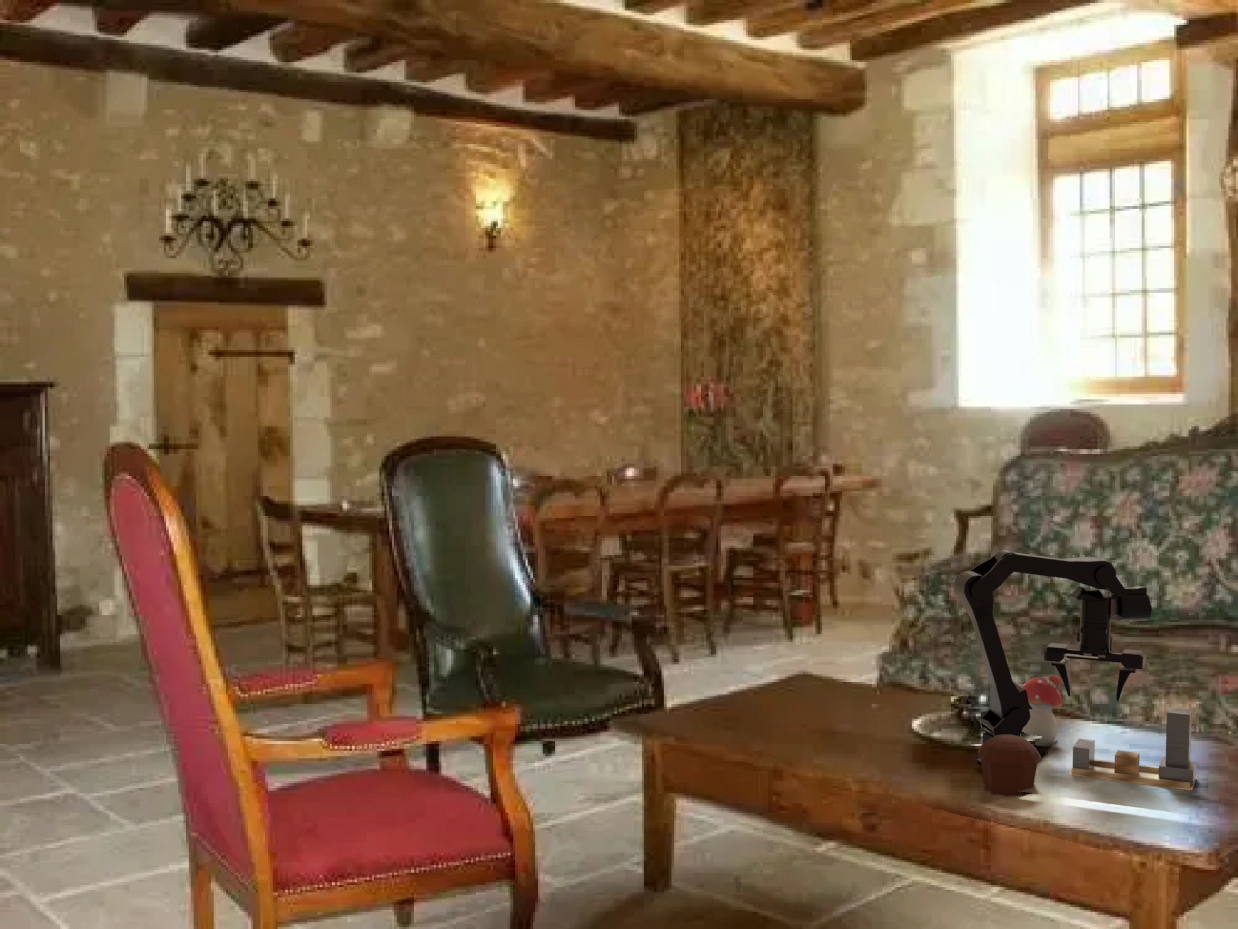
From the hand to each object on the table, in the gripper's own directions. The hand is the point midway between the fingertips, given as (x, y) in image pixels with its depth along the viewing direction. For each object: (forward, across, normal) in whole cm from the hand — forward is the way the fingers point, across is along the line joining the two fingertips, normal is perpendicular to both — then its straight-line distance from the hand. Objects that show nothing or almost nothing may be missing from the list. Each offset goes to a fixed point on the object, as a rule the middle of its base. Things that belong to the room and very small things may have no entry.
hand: (1093, 698), depth 279 cm
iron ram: (+12, -17, +10) cm, 23 cm away
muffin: (+13, +11, +26) cm, 31 cm away
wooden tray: (+13, -9, +10) cm, 19 cm away
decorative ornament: (+13, +12, -10) cm, 21 cm away
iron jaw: (+12, 0, +10) cm, 15 cm away
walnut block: (+12, -8, +10) cm, 17 cm away
